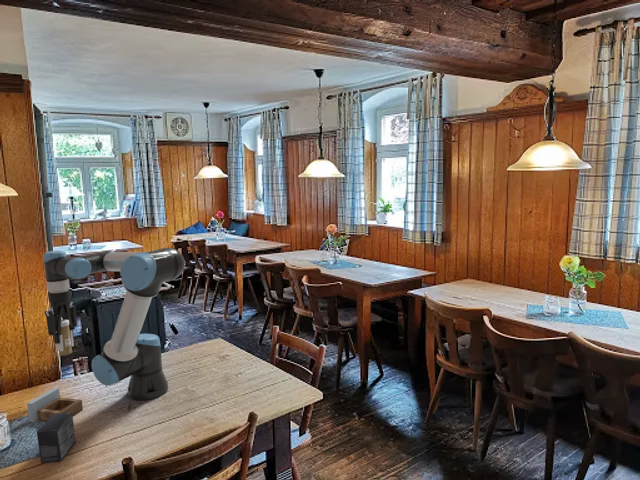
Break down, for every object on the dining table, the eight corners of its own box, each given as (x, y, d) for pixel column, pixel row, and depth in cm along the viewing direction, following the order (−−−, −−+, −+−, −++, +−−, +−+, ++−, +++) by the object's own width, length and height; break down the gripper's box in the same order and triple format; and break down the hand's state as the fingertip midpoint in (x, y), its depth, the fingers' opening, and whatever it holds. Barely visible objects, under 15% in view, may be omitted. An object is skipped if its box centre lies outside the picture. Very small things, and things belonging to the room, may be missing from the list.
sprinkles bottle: (72, 354, 182) (69, 321, 180) (59, 356, 179) (55, 323, 178) (71, 350, 186) (68, 318, 184) (58, 353, 183) (55, 320, 181)
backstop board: (60, 405, 174) (58, 388, 173) (34, 422, 163) (31, 403, 162) (56, 405, 175) (54, 387, 174) (29, 421, 163) (27, 403, 162)
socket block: (82, 410, 170) (81, 399, 170) (61, 424, 161) (60, 413, 160) (60, 407, 173) (59, 397, 172) (38, 421, 163) (37, 410, 163)
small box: (56, 443, 149) (52, 413, 148) (76, 442, 150) (73, 411, 148) (39, 463, 139) (35, 431, 137) (61, 461, 139) (58, 429, 138)
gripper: (68, 285, 188) (74, 340, 191) (31, 296, 172) (39, 356, 175) (83, 285, 186) (89, 341, 190) (48, 296, 170) (55, 357, 173)
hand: (65, 348), depth 182 cm, fingers closed on sprinkles bottle, 4 cm apart
